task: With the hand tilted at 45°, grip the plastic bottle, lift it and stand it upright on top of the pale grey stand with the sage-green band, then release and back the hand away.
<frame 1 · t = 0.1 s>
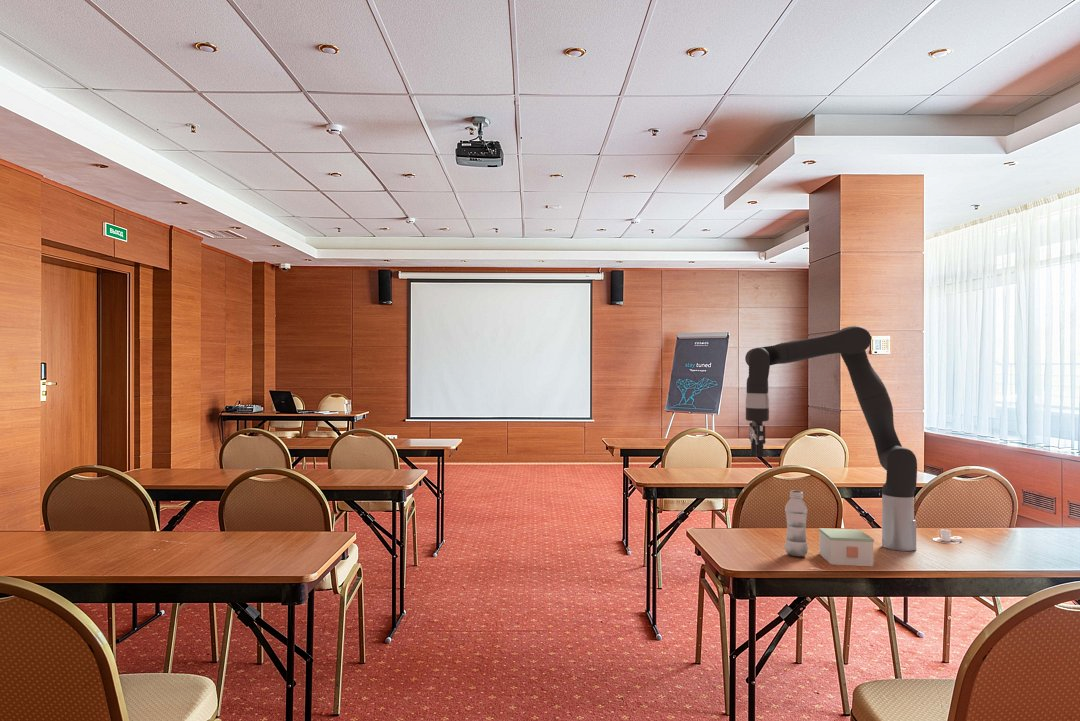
hand: (757, 454, 226), 29 cm above the table, tool pointing down, fingers open, 8 cm apart
teacup and saucer: (954, 544, 227), on the table
raised stand: (845, 559, 205), on the table
plastic bottle: (796, 556, 209), on the table
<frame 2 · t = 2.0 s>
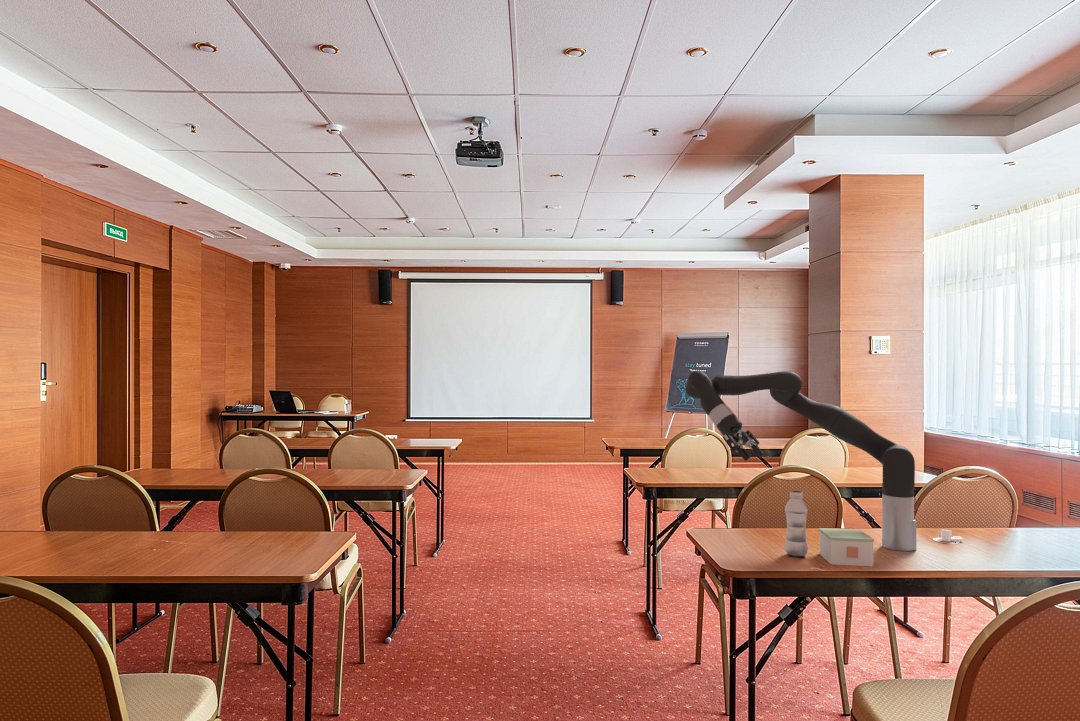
hand: (755, 458, 219), 29 cm above the table, tool tilted 45°, fingers open, 8 cm apart
nothing on the table moved.
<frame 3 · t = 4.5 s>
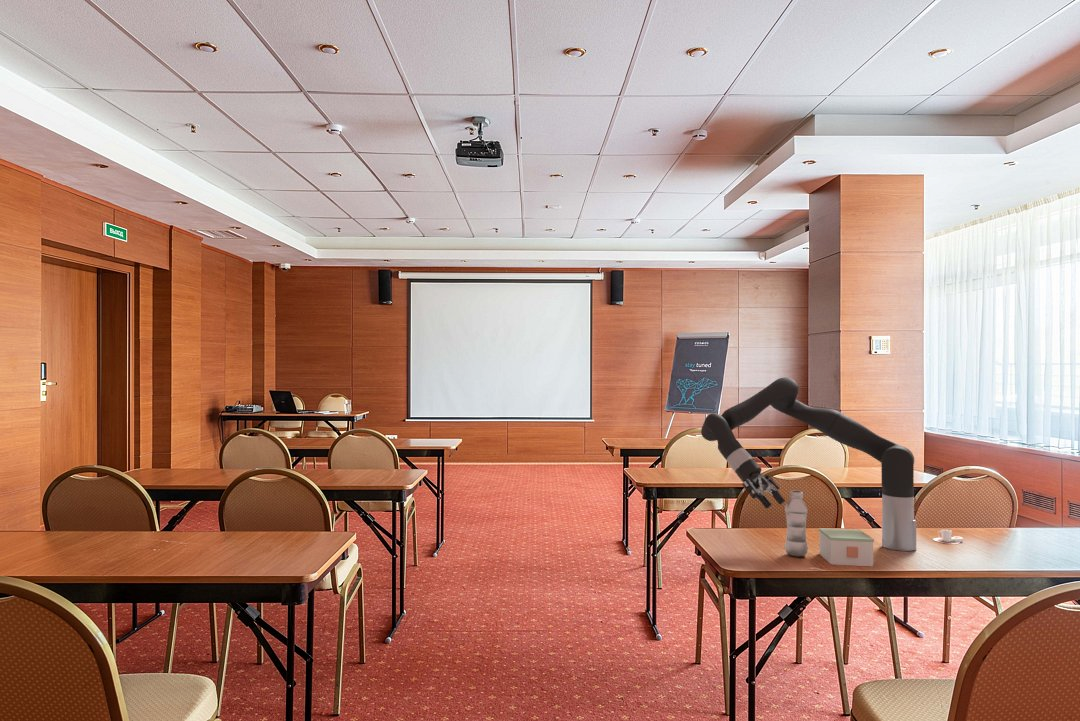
hand: (776, 504, 213), 15 cm above the table, tool tilted 45°, fingers open, 8 cm apart
nothing on the table moved.
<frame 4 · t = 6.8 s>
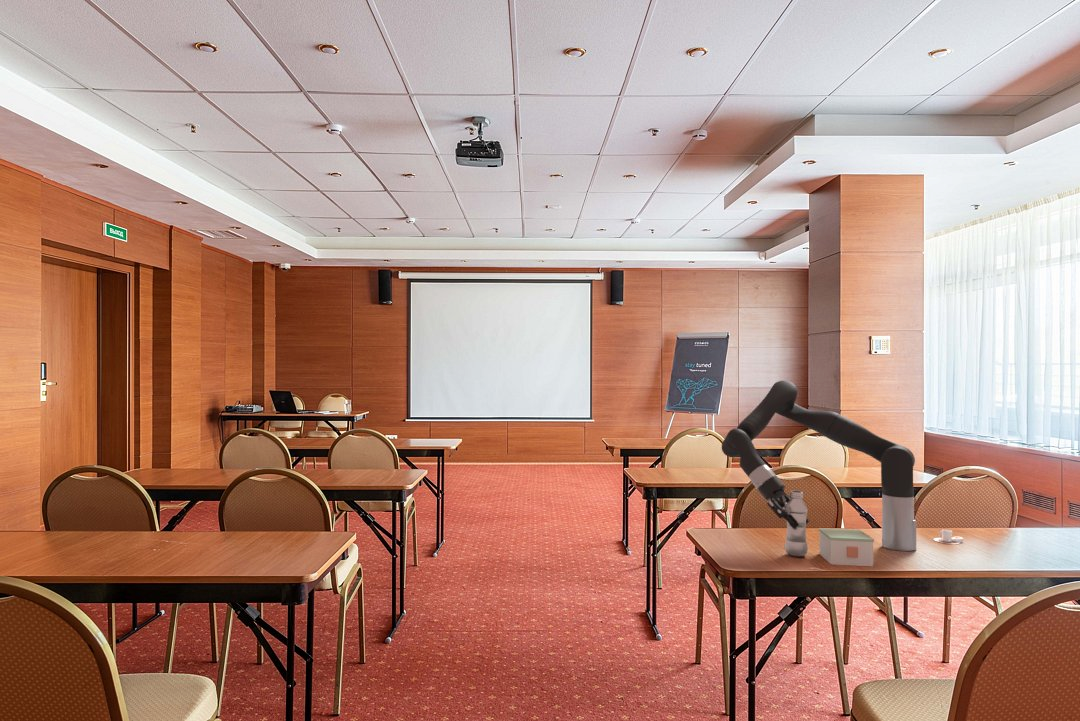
hand: (801, 525, 208), 10 cm above the table, tool tilted 45°, fingers closed on plastic bottle, 6 cm apart
plastic bottle: (796, 556, 209), on the table, touching gripper
everything else where it was.
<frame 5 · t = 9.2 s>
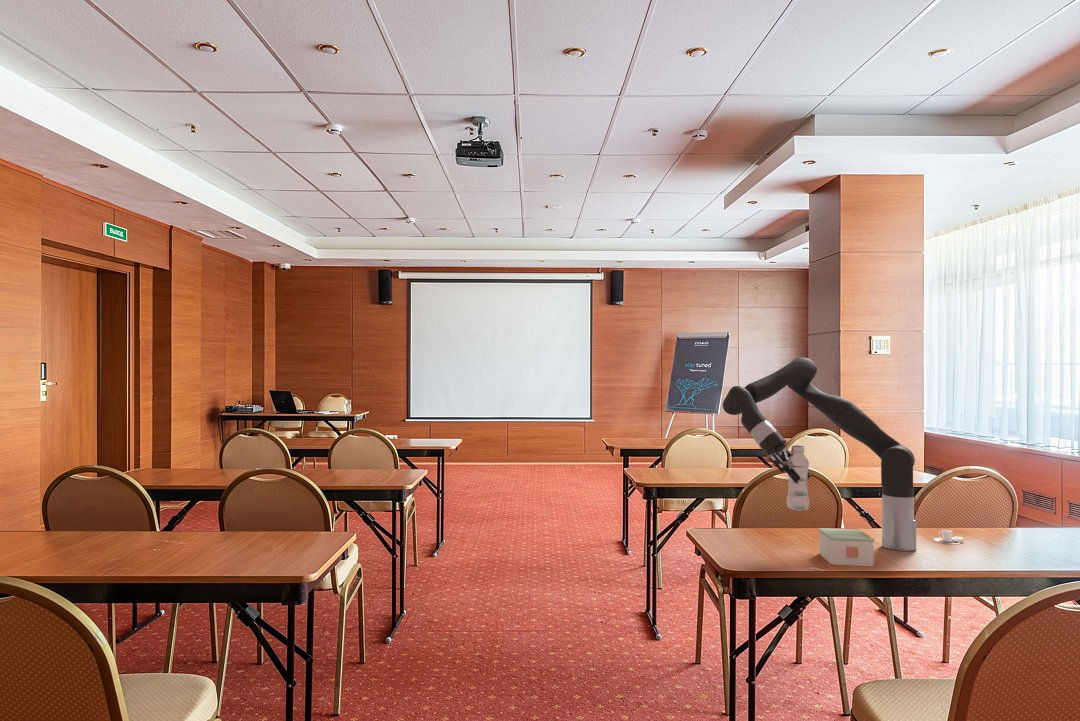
hand: (803, 479, 208), 24 cm above the table, tool tilted 45°, fingers closed on plastic bottle, 6 cm apart
plastic bottle: (797, 510, 209), point 14 cm above the table, touching gripper
everything else where it was.
when the fingers open (19 cm above the table, at t = 12.0 s): plastic bottle drops 1 cm, resting on raised stand.
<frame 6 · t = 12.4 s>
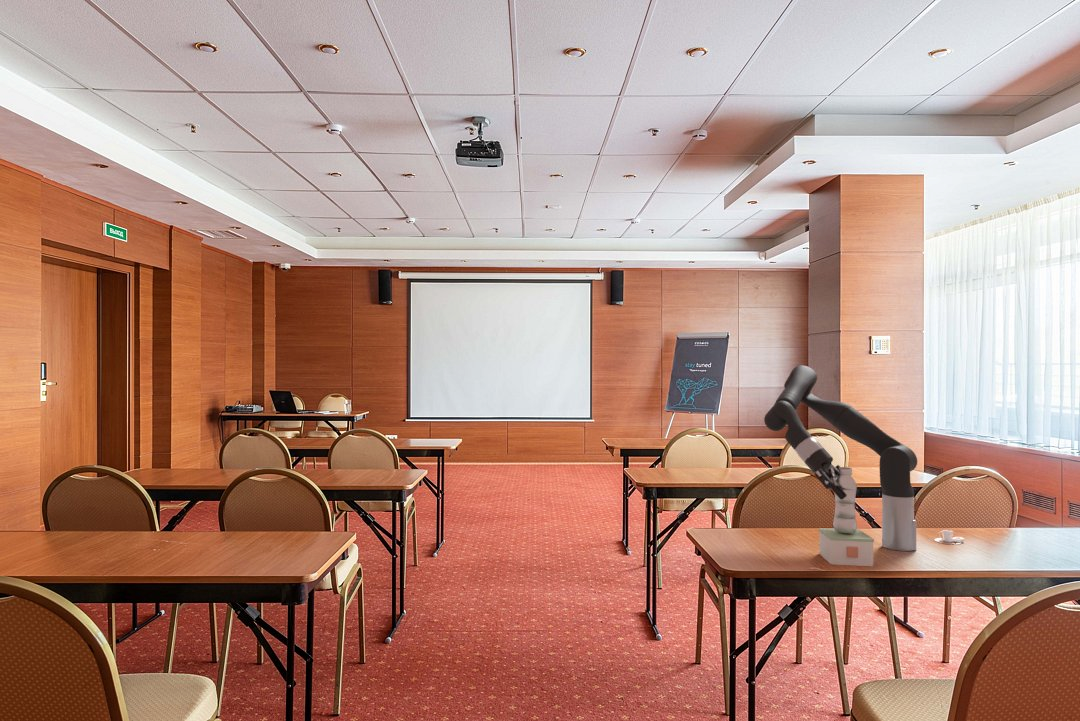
hand: (850, 496, 204), 20 cm above the table, tool tilted 45°, fingers open, 8 cm apart
plastic bottle: (844, 533, 205), point 8 cm above the table, touching raised stand
everything else where it was.
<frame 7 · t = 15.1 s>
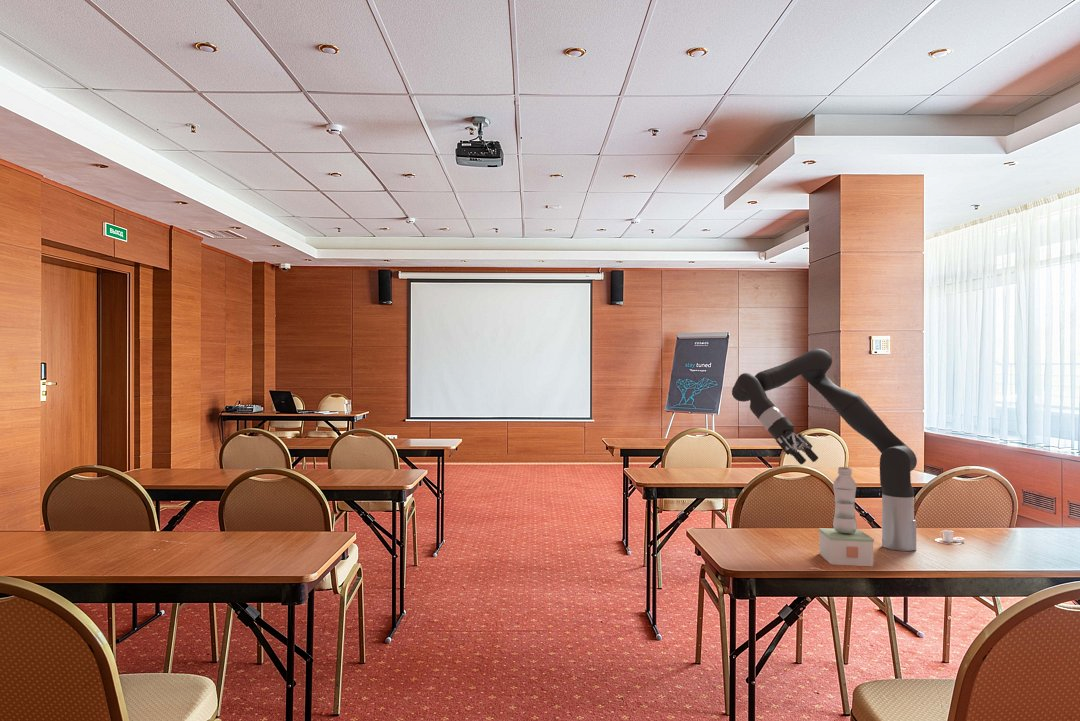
hand: (810, 461, 214), 29 cm above the table, tool tilted 45°, fingers open, 8 cm apart
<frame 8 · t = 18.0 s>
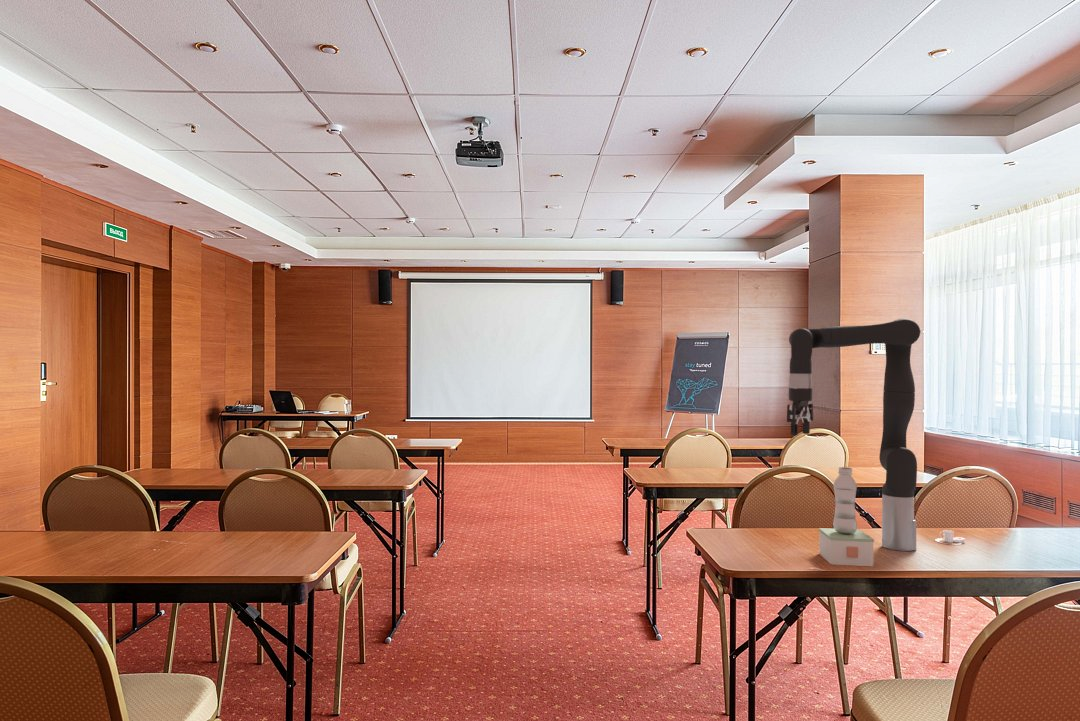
hand: (800, 434, 228), 36 cm above the table, tool pointing down, fingers open, 8 cm apart
at the end: plastic bottle inside the target area on the raised stand (0.2 cm from its centre), point 7.8 cm above the raised stand's base; plastic bottle tilted 0°; the gripper is holding nothing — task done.
